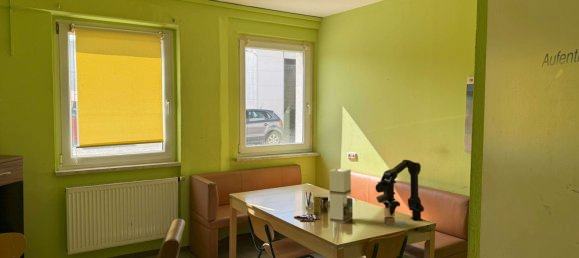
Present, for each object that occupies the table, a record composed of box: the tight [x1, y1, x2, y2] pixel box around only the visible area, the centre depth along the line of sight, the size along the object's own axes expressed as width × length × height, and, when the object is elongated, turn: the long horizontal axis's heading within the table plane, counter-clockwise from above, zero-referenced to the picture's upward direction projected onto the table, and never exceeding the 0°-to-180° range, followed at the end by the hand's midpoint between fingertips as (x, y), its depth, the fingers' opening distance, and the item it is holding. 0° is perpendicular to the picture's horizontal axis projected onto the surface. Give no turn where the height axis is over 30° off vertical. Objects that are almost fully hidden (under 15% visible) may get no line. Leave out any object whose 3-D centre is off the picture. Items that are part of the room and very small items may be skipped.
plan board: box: [379, 221, 412, 229], centre depth 281 cm, size 11×17×1 cm, turn 101°
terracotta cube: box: [383, 207, 396, 218], centre depth 280 cm, size 5×5×5 cm
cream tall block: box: [329, 168, 352, 224], centre depth 296 cm, size 11×11×35 cm
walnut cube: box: [383, 216, 396, 226], centre depth 280 cm, size 5×5×5 cm
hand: (389, 214), depth 280 cm, fingers closed on terracotta cube, 5 cm apart
